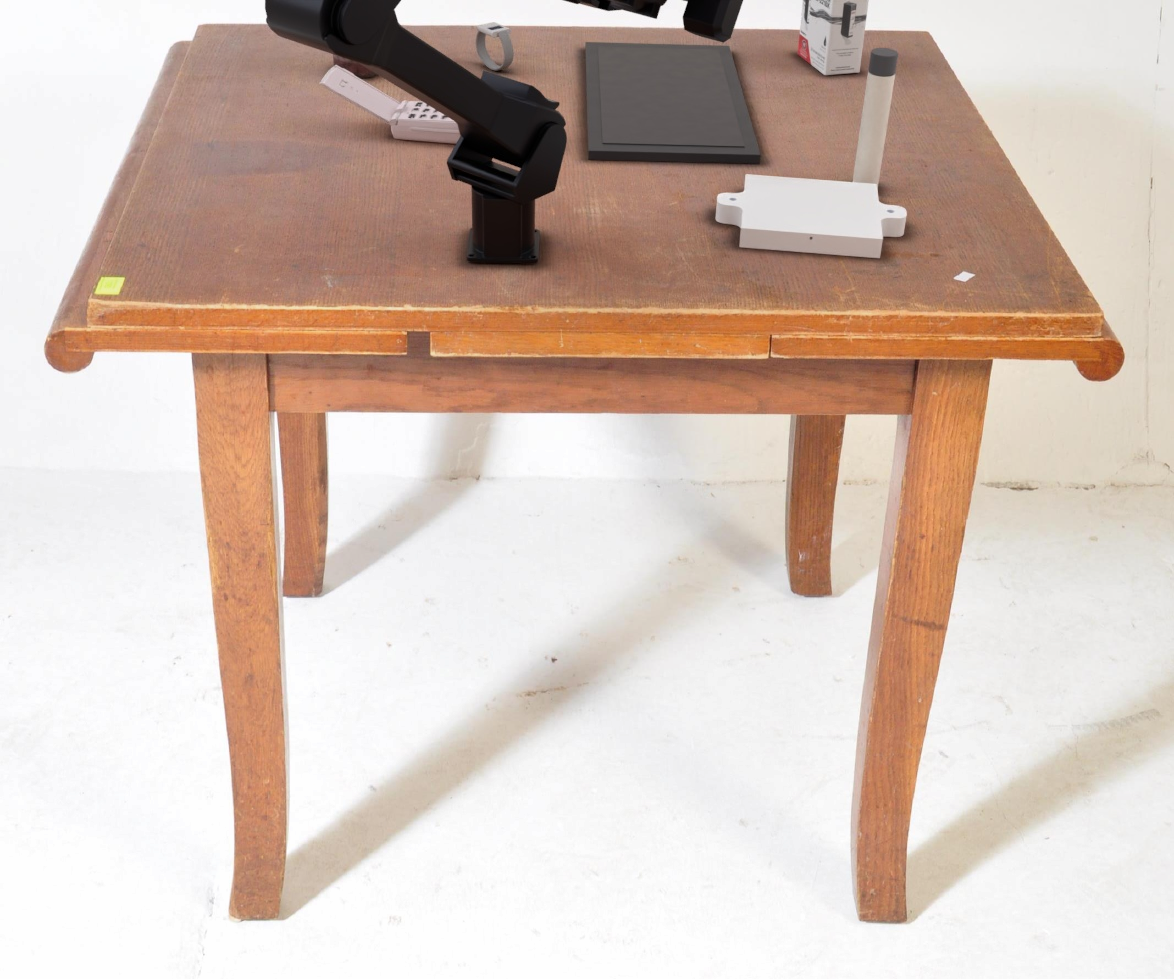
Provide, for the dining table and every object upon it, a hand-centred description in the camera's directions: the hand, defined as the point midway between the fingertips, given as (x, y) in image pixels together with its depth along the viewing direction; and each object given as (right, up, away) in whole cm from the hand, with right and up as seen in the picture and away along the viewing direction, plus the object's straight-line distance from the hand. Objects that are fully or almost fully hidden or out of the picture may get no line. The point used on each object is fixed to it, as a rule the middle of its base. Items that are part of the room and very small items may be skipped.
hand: (695, 10), depth 141 cm
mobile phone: (-26, -9, +14) cm, 31 cm away
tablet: (-2, -3, +24) cm, 24 cm away
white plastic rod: (+17, -17, +5) cm, 25 cm away
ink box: (+19, +5, +37) cm, 42 cm away
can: (-38, +3, +30) cm, 48 cm away
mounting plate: (+11, -22, -3) cm, 24 cm away
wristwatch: (-22, +3, +32) cm, 39 cm away
